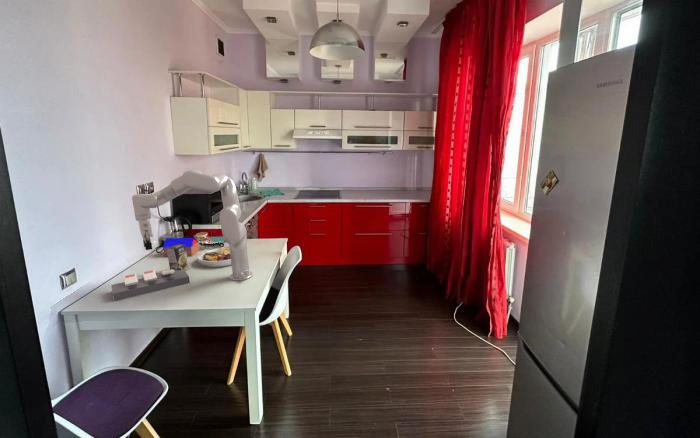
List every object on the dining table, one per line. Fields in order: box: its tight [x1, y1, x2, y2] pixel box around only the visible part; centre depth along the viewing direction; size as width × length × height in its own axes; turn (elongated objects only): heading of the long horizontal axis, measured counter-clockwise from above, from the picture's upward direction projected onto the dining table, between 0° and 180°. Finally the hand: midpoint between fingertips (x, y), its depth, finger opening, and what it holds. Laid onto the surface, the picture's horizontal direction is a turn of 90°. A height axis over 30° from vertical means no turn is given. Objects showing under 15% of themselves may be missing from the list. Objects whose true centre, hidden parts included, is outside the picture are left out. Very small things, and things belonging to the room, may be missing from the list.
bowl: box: [197, 246, 231, 268], centre depth 241 cm, size 30×30×8 cm
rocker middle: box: [141, 269, 157, 282], centre depth 202 cm, size 8×6×2 cm
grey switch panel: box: [111, 269, 191, 302], centre depth 201 cm, size 14×36×4 cm, turn 125°
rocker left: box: [122, 273, 139, 286], centre depth 197 cm, size 8×6×2 cm
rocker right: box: [160, 269, 175, 276], centre depth 207 cm, size 8×6×2 cm
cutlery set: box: [209, 235, 226, 250], centre depth 280 cm, size 20×30×2 cm, turn 5°
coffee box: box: [167, 244, 190, 272], centre depth 222 cm, size 9×6×16 cm
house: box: [162, 237, 201, 258], centre depth 257 cm, size 12×20×12 cm, turn 86°
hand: (148, 247), depth 206 cm, fingers open, 6 cm apart
